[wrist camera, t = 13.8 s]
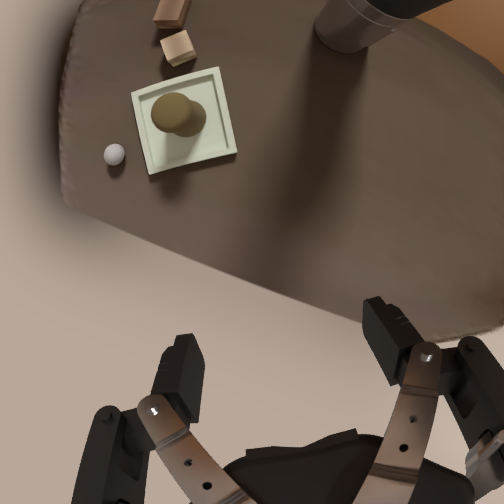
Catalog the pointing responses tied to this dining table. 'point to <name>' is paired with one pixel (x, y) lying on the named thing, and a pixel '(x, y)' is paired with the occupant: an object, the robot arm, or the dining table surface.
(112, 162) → the grey ball
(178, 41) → the maple block
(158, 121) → the cork
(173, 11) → the walnut block
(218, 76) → the tray
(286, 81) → the dining table surface
